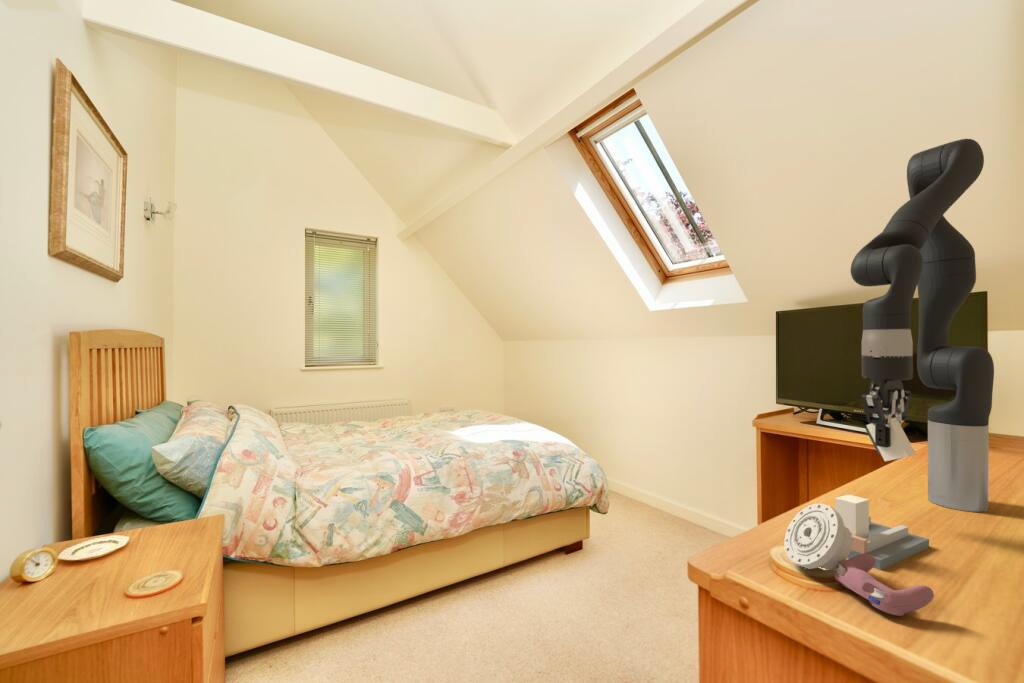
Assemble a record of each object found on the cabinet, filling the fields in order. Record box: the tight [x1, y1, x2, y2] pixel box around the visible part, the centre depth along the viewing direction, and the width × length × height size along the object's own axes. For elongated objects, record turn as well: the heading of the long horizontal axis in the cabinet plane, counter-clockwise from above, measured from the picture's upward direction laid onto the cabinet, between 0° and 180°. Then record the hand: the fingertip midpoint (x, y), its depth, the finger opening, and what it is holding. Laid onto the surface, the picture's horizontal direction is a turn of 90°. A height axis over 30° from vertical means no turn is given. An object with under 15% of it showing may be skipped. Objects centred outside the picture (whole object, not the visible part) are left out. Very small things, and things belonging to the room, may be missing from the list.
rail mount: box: [834, 494, 930, 571], centre depth 78 cm, size 16×11×8 cm
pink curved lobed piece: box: [834, 554, 935, 617], centre depth 62 cm, size 10×5×7 cm
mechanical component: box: [783, 503, 854, 571], centre depth 70 cm, size 10×4×10 cm
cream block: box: [864, 418, 917, 462], centre depth 87 cm, size 5×3×7 cm, turn 28°
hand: (887, 445), depth 88 cm, fingers closed on cream block, 2 cm apart
